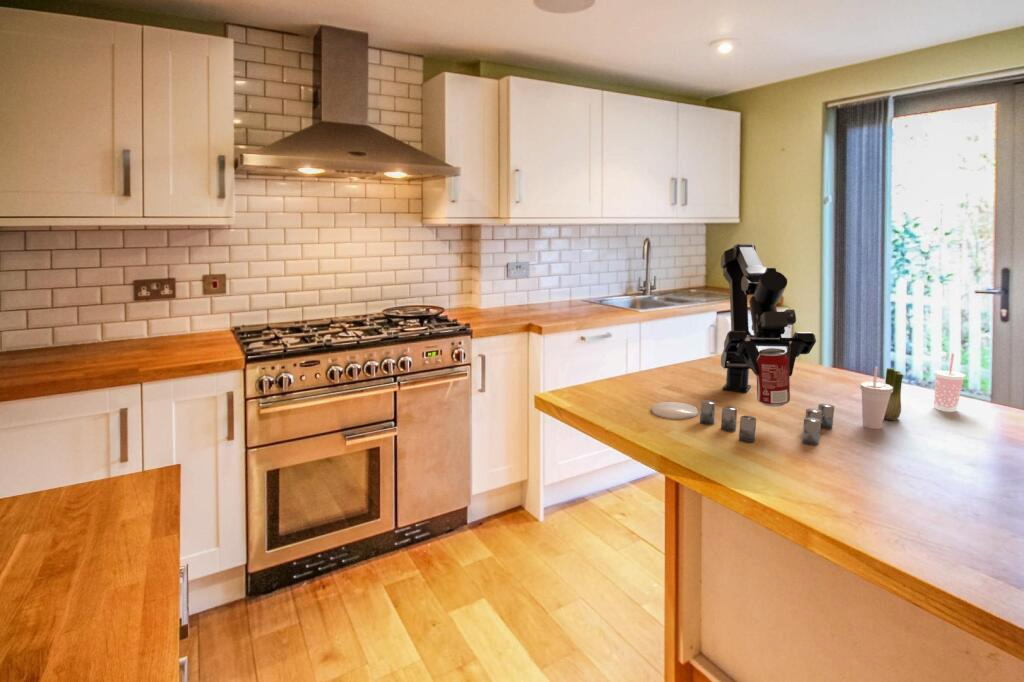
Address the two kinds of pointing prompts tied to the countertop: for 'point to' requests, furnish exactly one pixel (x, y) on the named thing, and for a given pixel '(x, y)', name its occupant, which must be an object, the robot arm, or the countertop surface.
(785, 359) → the soda can
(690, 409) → the coaster
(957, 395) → the beverage cup
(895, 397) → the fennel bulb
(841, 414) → the countertop surface
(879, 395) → the smoothie
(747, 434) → the spacer field
